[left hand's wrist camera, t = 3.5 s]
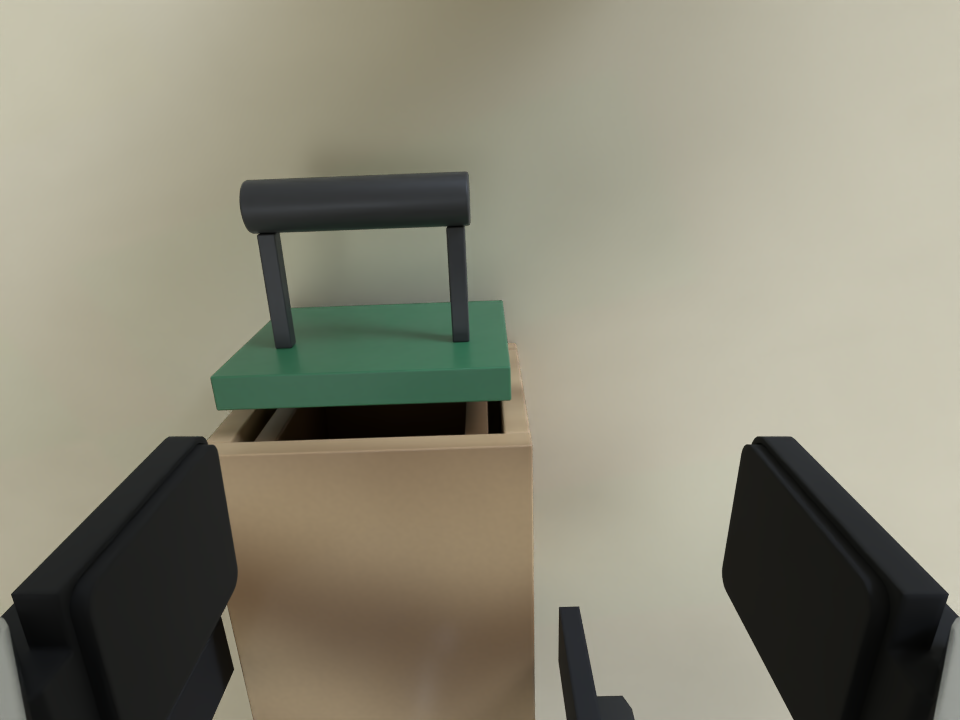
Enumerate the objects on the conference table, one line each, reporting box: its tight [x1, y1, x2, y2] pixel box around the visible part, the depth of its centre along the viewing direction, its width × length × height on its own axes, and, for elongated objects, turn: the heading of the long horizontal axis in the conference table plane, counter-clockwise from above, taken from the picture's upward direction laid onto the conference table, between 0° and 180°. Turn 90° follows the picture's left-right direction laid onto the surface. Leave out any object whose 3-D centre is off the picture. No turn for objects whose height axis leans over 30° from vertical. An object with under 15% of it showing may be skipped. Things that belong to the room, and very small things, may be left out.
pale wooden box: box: [207, 343, 535, 720], centre depth 27 cm, size 13×11×10 cm
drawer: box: [211, 172, 511, 442], centre depth 25 cm, size 18×10×8 cm, turn 2°
